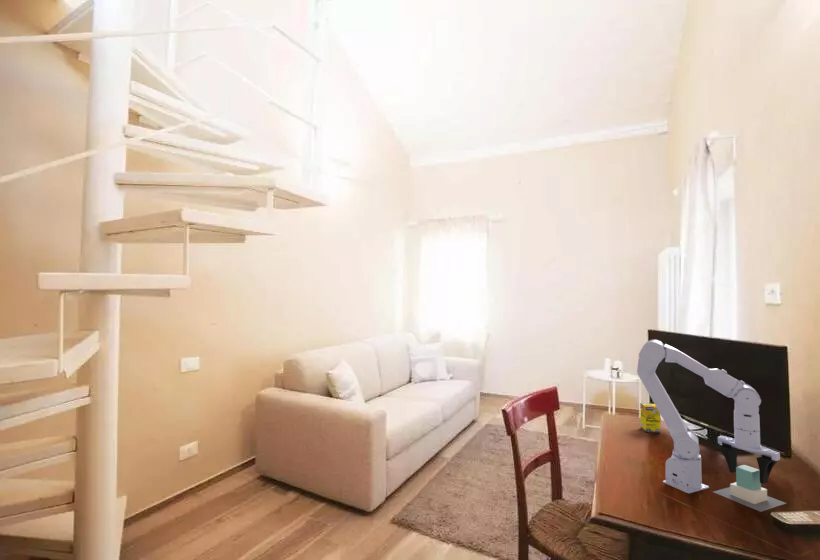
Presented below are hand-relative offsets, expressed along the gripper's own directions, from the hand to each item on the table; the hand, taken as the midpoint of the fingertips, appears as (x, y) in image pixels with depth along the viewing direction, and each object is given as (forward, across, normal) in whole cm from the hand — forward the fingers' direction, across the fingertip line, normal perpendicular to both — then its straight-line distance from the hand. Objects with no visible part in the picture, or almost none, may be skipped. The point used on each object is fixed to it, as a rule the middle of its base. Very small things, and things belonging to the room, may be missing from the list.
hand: (748, 477), depth 117 cm
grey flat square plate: (+6, 0, 0) cm, 6 cm away
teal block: (+3, 0, 0) cm, 3 cm away
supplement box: (+6, +52, -29) cm, 60 cm away
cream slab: (+6, 0, 0) cm, 6 cm away
